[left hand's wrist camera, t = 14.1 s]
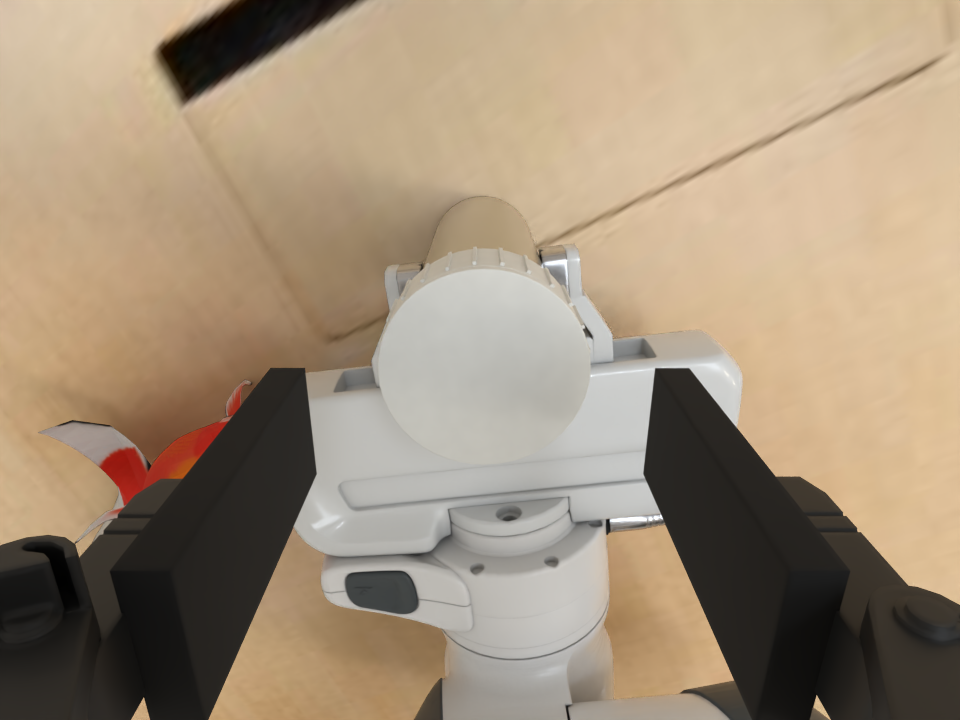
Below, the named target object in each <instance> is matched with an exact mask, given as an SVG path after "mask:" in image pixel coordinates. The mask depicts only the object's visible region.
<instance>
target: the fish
mask: <svg viewBox="0 0 960 720" xmlns="http://www.w3.org/2000/svg"><path fill="white" fill-rule="evenodd" d="M251 384H252V382H250V381H248V380H246V379H245V380H244V381H243V382H242V383H241V384H240V385H239V386H238V387H236V388H235V389H234V391H233V393H232V394H231V396H230V398H229V399H228V401H227V403H226V407H225V411H226V417H225V418H223V419H222V420H221V421H220V422H216V423H214V424H211V425H209V426H207V427H203V428H200V429H198V430H195V431H193V432H191V433H188V434H186V435H184V436H182V437H180V438H178V439H177V440H175V441H174V442H173V443H172V444H171V445H170V446H169V447H167V448H166V449H165V450H164V451H163V452H162V453H161V454H160V455H159V457H158V458H157V459H156V460H155V461H154V463H153V464H152V466H151V465H150V463H149V462H148V461H147V459H146V458H145V457H144V455H143V454H142V453H141V451H140V450H139V449H138V447H137V446H136V445H135V444H134V443H132V442H131V441H130V440H129V439H128V438H126V437H125V436H124V435H123V434H121V433H120V432H118V431H117V430H116V429H114V428H113V427H111V426H110V425H103V424H96V423H89V422H81V421H74V420H72V421H69V422H66V423H63V424H60V425H58V426H55V427H52V428H49V429H46V430H43V431H40V432H38V433H41V434H44V435H48V436H50V437H52V438H55V439H57V440H59V441H61V442H63V443H65V444H67V445H69V446H71V447H72V448H74V449H76V450H77V451H79V452H80V453H82V454H83V455H85V456H86V457H88V458H89V459H90V460H92V461H93V462H94V463H95V464H97V465H98V466H99V467H100V468H101V469H102V470H103V471H104V472H105V473H106V474H107V475H108V476H109V477H110V478H111V479H112V480H113V481H114V482H115V484H116V485H117V486H118V490H119V495H118V498H117V500H116V503H115V505H114V508H113V510H110V511H107V512H105V513H104V514H103V515H102V516H101V517H99V518H98V519H97V520H96V521H95V522H93V523H92V524H91V525H90V526H89V527H88V528H87V530H86V531H85V532H84V533H83V534H82V535H81V536H80V538H79V539H78V540H77V541H76V542H75V543H77V542H78V541H79V540H81V539H82V538H83V537H84V536H85V535H87V534H88V533H89V532H90V531H92V530H93V529H94V528H96V527H97V526H99V525H100V524H102V523H104V524H103V525H102V527H101V528H100V530H99V531H98V533H97V535H96V536H95V538H94V540H93V542H94V541H95V539H96V538H97V537H98V536H99V535H103V532H104V531H103V530H104V529H105V528H106V527H107V526H108V525H109V524H110V522H111V521H112V520H113V519H114V518H117V517H118V513H119V512H120V511H121V510H122V509H123V508H124V507H125V506H126V504H127V503H128V502H129V501H130V500H131V499H132V498H133V496H134V495H136V494H137V493H139V492H141V491H142V490H144V489H145V488H147V487H148V486H150V485H152V484H153V483H155V482H156V481H158V480H159V479H183V478H184V477H185V475H186V474H187V473H188V472H189V470H190V469H191V468H192V466H193V465H194V464H195V463H196V461H197V460H198V459H199V458H200V456H201V455H202V454H203V453H204V451H205V450H206V449H207V448H208V446H209V445H210V444H211V443H212V441H213V440H214V439H215V438H216V436H217V435H218V434H219V433H220V431H221V430H222V429H223V427H224V426H225V425H226V424H227V422H228V421H229V420H230V419H231V417H232V416H233V415H234V414H235V412H236V411H237V410H238V409H239V407H240V406H241V391H242V387H243V386H244V385H251ZM93 542H92V543H93ZM75 543H74V544H75Z"/></svg>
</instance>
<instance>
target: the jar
mask: <svg viewBox="0 0 960 720" xmlns="http://www.w3.org/2000/svg"><path fill="white" fill-rule="evenodd" d="M473 247H477V249H481V248H486V249H498V250H499V247H500V248H503V250H504V251H509V252H512V253H515V254H518V255H521V256H523V255H527V257H528V259H529V260H532V261H533V262H535V263H536V264H538V265H539V266H541V267H542V268H543V265H542V263H541V260H540V257H539V255H538V252H537V249H536V247H535V244H534V241H533V238H532V236H531V233H530V230H529V228H528V226H527V223H526V221H525V220H524V218H523V217H522V215H521V214H520V213H519V212H518V211H517V210H516V209H515V208H514V207H513V206H511V205H510V204H508V203H506V202H504V201H502V200H500V199H497V198H493V197H485V196H481V197H473V198H469V199H466V200H463V201H461V202H459V203H457V204H456V205H455V206H453V207H452V208H451V209H450V210H448V211H447V213H446V214H445V215H444V216H443V218H442V219H441V221H440V223H439V225H438V227H437V229H436V232H435V235H434V238H433V241H432V244H431V247H430V250H429V252H428V255H427V258H426V261H425V264H424V267H423V269H424V268H425V265H426V264H427V263H429V264H431V263H433V262H435V261H437V260H438V259H440V258H442V257H444V256H447V255H448V253H449V252H452V254H453V253H456V252H459V251H464V250H469V249H473Z"/></svg>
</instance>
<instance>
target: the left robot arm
mask: <svg viewBox="0 0 960 720" xmlns="http://www.w3.org/2000/svg"><path fill="white" fill-rule="evenodd" d="M316 475H317V471H316V462H315V453H314V444H313V435H312V426H311V417H310V408H309V400H308V391H307V382H306V373H305V368H270V370H269V371H268V372H267V373H266V375H265V376H264V377H263V378H262V380H261V381H260V382H259V383H258V385H257V386H256V387H255V388H254V390H253V391H252V392H251V394H250V395H249V396H248V397H247V399H246V400H245V401H244V402H243V404H242V405H241V406H240V407H239V409H238V410H237V411H236V412H235V414H234V415H233V416H232V417H231V419H230V420H229V421H228V422H227V424H226V425H225V426H224V427H223V429H222V430H221V431H220V433H219V434H218V435H217V436H216V438H215V439H214V440H213V441H212V443H211V444H210V445H209V446H208V448H207V449H206V450H205V451H204V453H203V454H202V455H201V456H200V458H199V459H198V460H197V461H196V463H195V464H194V465H193V466H192V468H191V469H190V470H189V472H188V473H187V474H186V475H185V477H184V478H183V479H159V480H158V481H156V482H155V483H153V484H152V485H150V486H148V487H147V488H145V489H144V490H142V491H141V492H139V493H137V494H136V495H134V496H133V498H132V499H131V500H130V501H129V502H128V503H127V504H126V506H125V507H124V508H123V509H122V510H121V511H120V512H119V513H118V517H117V518H114V519H113V520H112V521H111V522H110V524H109V525H108V526H107V527H106V528H105V529H104V530H103V531H104V532H103V535H99V536H98V537H97V538H96V539H95V541H94V542H93V543H92V544H91V545H90V546H89V547H88V548H87V550H86V551H85V552H84V553H83V554H82V555H81V556H80V558H79V556H78V552H77V549H76V545H75V544H74V543H72V542H71V541H70V540H68V539H67V538H65V537H58V536H51V535H44V536H36V537H27V538H23V539H20V540H16V541H13V542H10V543H6V544H3V545H1V546H0V720H131V719H132V717H133V715H134V713H135V712H136V710H137V708H138V706H139V704H140V703H141V701H142V699H143V697H144V699H145V702H146V706H147V710H148V713H149V717H150V720H208V719H209V717H210V715H211V712H212V710H213V708H214V706H215V703H216V701H217V699H218V696H219V694H220V692H221V690H222V687H223V685H224V683H225V681H226V678H227V676H228V674H229V672H230V669H231V667H232V665H233V663H234V660H235V658H236V656H237V653H238V651H239V649H240V647H241V644H242V642H243V640H244V638H245V635H246V633H247V631H248V629H249V626H250V624H251V622H252V620H253V617H254V615H255V613H256V611H257V608H258V606H259V604H260V601H261V599H262V597H263V595H264V592H265V590H266V588H267V586H268V583H269V581H270V579H271V577H272V574H273V572H274V570H275V568H276V565H277V563H278V561H279V558H280V556H281V554H282V552H283V549H284V547H285V545H286V543H287V540H288V538H289V536H290V534H291V531H292V529H293V527H294V525H295V522H296V520H297V518H298V515H299V513H300V511H301V509H302V506H303V504H304V502H305V500H306V497H307V495H308V493H309V491H310V488H311V486H312V484H313V482H314V479H315V477H316ZM643 475H644V477H645V479H646V482H647V484H648V486H649V488H650V491H651V493H652V495H653V497H654V500H655V502H656V504H657V506H658V509H659V511H660V513H661V515H662V518H663V520H664V522H665V525H666V527H667V529H668V531H669V534H670V536H671V538H672V540H673V543H674V545H675V547H676V549H677V552H678V554H679V556H680V558H681V561H682V563H683V565H684V568H685V570H686V572H687V574H688V577H689V579H690V581H691V583H692V586H693V588H694V590H695V592H696V595H697V597H698V599H699V601H700V604H701V606H702V608H703V611H704V613H705V615H706V617H707V620H708V622H709V624H710V626H711V629H712V631H713V633H714V635H715V638H716V640H717V642H718V644H719V647H720V649H721V651H722V653H723V656H724V658H725V660H726V663H727V665H728V667H729V669H730V672H731V674H732V676H733V678H734V681H735V683H736V685H737V687H738V690H739V692H740V694H741V696H742V699H743V701H744V703H745V706H746V708H747V710H748V712H749V715H750V717H751V719H752V720H810V717H811V713H812V710H813V706H814V702H815V699H816V695H817V696H818V698H819V699H820V701H821V703H822V705H823V706H824V708H825V710H826V712H827V713H828V715H829V717H830V719H831V720H960V605H959V604H957V603H955V602H953V601H951V600H949V599H947V598H946V597H944V596H942V595H940V594H937V593H934V592H931V591H928V590H925V589H922V588H919V587H913V586H908V585H907V584H906V583H905V581H904V580H903V579H902V578H901V577H900V576H899V575H898V574H897V572H896V571H895V570H894V569H893V568H892V567H891V566H890V565H889V564H888V562H887V561H886V560H885V559H884V558H883V557H882V556H881V555H880V553H879V552H878V551H877V550H876V549H875V548H874V547H873V546H872V544H871V543H870V542H869V541H868V540H867V539H866V538H865V537H864V535H863V534H862V533H861V532H857V528H856V526H855V525H854V524H853V523H852V522H851V521H850V520H849V519H848V517H847V516H843V512H842V511H841V510H840V508H839V507H838V506H837V505H836V504H835V503H834V502H833V501H832V500H831V498H830V497H829V496H828V495H827V494H826V493H825V492H823V491H822V490H820V489H818V488H817V487H815V486H814V485H812V484H810V483H809V482H807V481H806V480H804V479H802V478H801V477H775V475H774V474H773V473H772V472H771V470H770V469H769V468H768V466H767V465H766V464H765V463H764V461H763V460H762V459H761V458H760V456H759V455H758V454H757V453H756V451H755V450H754V449H753V448H752V446H751V445H750V444H749V443H748V441H747V440H746V439H745V438H744V436H743V435H742V434H741V433H740V431H739V430H738V429H737V427H736V426H735V425H734V424H733V422H732V421H731V420H730V419H729V417H728V416H727V415H726V414H725V412H724V411H723V410H722V409H721V407H720V406H719V405H718V404H717V402H716V401H715V400H714V399H713V397H712V396H711V395H710V394H709V392H708V391H707V390H706V389H705V387H704V386H703V385H702V383H701V382H700V381H699V380H698V378H697V377H696V376H695V375H694V373H693V372H692V371H691V370H690V368H655V373H654V382H653V391H652V400H651V408H650V417H649V426H648V435H647V444H646V453H645V462H644V471H643Z"/></svg>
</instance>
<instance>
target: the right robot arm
mask: <svg viewBox="0 0 960 720" xmlns="http://www.w3.org/2000/svg"><path fill="white" fill-rule="evenodd" d="M539 257H540V260H541V263H542V265H543V268H545V267H546V268H548V269H549V272H550V274H551V275H552V276H553V277H554V278H555V279H556V281H557V282H558V283H559V284H560V285H564V286H565V288H566V290H567V292H568V295H569V297H570V299H571V301H572V303H573V306H574V305H575V306H576V308H577V310H578V313H579V315H580V317H581V319H582V321H583V323H584V326H585V329H583V331H584V333H585V337H586V340H587V343H588V345H589V348H590V351H591V353H590V369H591V372H590V380H589V386H588V389H587V393H586V396H585V399H584V401H583V403H582V406H581V408H580V410H579V411H578V413H577V415H576V416H575V418H574V420H573V421H572V422H571V423H570V425H569V426H568V427H567V428H566V430H565V431H564V432H563V433H562V434H561V435H559V436H558V437H557V438H556V439H555V440H554V441H552V442H551V443H550V444H548V445H547V446H546V447H544V448H542V449H540V450H539V451H537V452H535V453H533V454H531V455H528V456H526V457H524V458H521V459H517V460H514V461H511V462H505V463H500V464H487V465H482V464H469V463H463V462H458V461H454V460H450V459H447V458H444V457H442V456H440V455H437V454H435V453H433V452H431V451H429V450H428V449H426V448H424V447H422V446H421V445H420V444H418V443H417V442H416V441H414V440H413V439H412V438H411V437H410V436H409V435H408V434H406V433H405V432H404V431H403V429H402V428H401V427H400V426H399V425H398V423H397V422H396V421H395V419H394V418H393V416H392V415H391V413H390V411H389V410H388V408H387V405H386V403H385V401H384V399H383V396H382V392H381V389H380V385H379V378H378V355H379V348H380V345H379V342H378V345H377V347H376V350H375V352H374V355H373V357H372V360H371V362H372V366H363V367H354V368H345V369H335V370H326V371H317V372H308V373H306V382H307V391H308V400H309V408H310V417H311V426H312V435H313V444H314V453H315V462H316V471H317V475H316V477H315V479H314V482H313V484H312V486H311V488H310V491H309V493H308V495H307V497H306V500H305V502H304V504H303V506H302V509H301V511H300V513H299V515H298V518H297V520H296V522H295V525H294V529H295V530H296V532H297V533H298V535H299V536H300V537H301V538H302V539H303V540H304V541H305V542H306V543H307V544H308V545H309V546H311V547H312V548H314V549H316V550H317V551H319V552H322V553H324V559H323V565H322V571H321V586H322V590H323V593H324V595H325V597H326V599H327V600H328V601H329V602H331V603H332V604H334V605H337V606H340V607H344V608H350V609H356V610H363V611H369V612H375V613H381V614H386V615H392V616H397V617H401V618H406V619H410V620H414V621H418V622H422V623H425V624H428V625H432V626H435V627H438V628H441V630H442V632H443V634H444V636H445V638H446V641H447V644H446V649H445V676H446V678H444V679H442V678H440V680H439V681H438V682H437V683H436V684H435V685H434V687H433V688H432V689H431V691H430V692H429V694H428V696H427V697H426V699H425V701H424V703H423V704H422V706H421V708H420V710H419V711H418V713H417V715H416V717H415V719H414V720H752V719H751V717H750V715H749V712H748V710H747V708H746V706H745V703H744V701H743V699H742V696H741V694H740V692H739V690H738V687H737V685H736V683H735V681H730V682H725V683H719V684H714V685H709V686H703V687H698V688H693V689H688V690H683V691H682V692H681V693H680V694H671V695H660V696H648V697H636V698H625V699H614V664H613V652H612V646H611V642H610V638H609V635H608V633H607V630H606V628H605V626H604V622H605V619H606V616H607V612H608V607H609V597H610V587H609V569H608V550H607V538H606V535H608V533H611V532H622V531H632V530H641V529H646V528H651V527H652V526H653V527H656V526H658V525H659V526H662V525H665V522H664V520H663V518H662V515H661V513H660V511H659V509H658V506H657V504H656V502H655V500H654V497H653V495H652V493H651V491H650V488H649V486H648V484H647V482H646V479H645V477H644V475H643V471H644V462H645V453H646V444H647V435H648V426H649V417H650V408H651V400H652V391H653V382H654V373H655V368H690V370H691V371H692V372H693V373H694V375H695V376H696V377H697V378H698V380H699V381H700V382H701V383H702V385H703V386H704V387H705V389H706V390H707V391H708V392H709V394H710V395H711V396H712V397H713V399H714V400H715V401H716V402H717V404H718V405H719V406H720V407H721V409H722V410H723V411H724V412H725V414H726V415H727V416H728V417H729V419H730V420H731V421H732V422H733V424H734V425H735V426H736V427H737V424H738V418H739V411H740V404H741V395H742V383H743V381H742V373H741V369H740V367H739V365H738V364H737V362H736V361H735V359H734V358H733V357H732V356H731V355H730V353H729V352H728V351H727V350H726V349H725V348H724V347H723V346H722V345H721V344H720V343H718V342H717V341H716V340H715V339H713V338H712V337H711V336H710V335H708V334H707V333H706V332H704V331H701V330H688V331H679V332H670V333H661V334H652V335H643V336H634V337H625V338H616V339H613V335H612V333H611V331H610V329H609V327H608V325H607V324H606V322H605V320H604V318H603V317H602V315H601V314H600V312H599V311H598V310H597V308H596V307H595V305H594V304H593V303H592V301H591V300H590V298H589V297H588V296H587V294H586V293H585V291H584V290H583V288H582V283H581V267H580V257H579V251H578V248H577V247H576V245H575V244H566V245H558V246H550V247H543V248H539ZM423 267H424V263H423V262H417V263H407V264H396V265H389V266H387V268H386V270H385V272H384V280H385V288H386V294H387V299H388V305H389V310H391V308H392V306H393V303H394V301H395V299H399V297H400V296H401V294H402V292H403V290H404V288H405V285H406V283H407V281H408V280H409V279H411V280H412V279H413V278H414V277H415V276H416V275H417V274H418V273H419V272H420V271H422V270H423ZM386 324H387V321H386ZM386 324H385V326H384V329H385V327H386ZM384 329H383V331H384ZM382 334H383V332H382ZM382 334H381V336H382ZM380 338H381V337H380ZM379 341H380V339H379ZM810 720H829V719H828V718H826V717H825V716H824V715H823V714H821V713H820V712H819V711H817V710H816V709H814V708H813V710H812V713H811V717H810Z"/></svg>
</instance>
